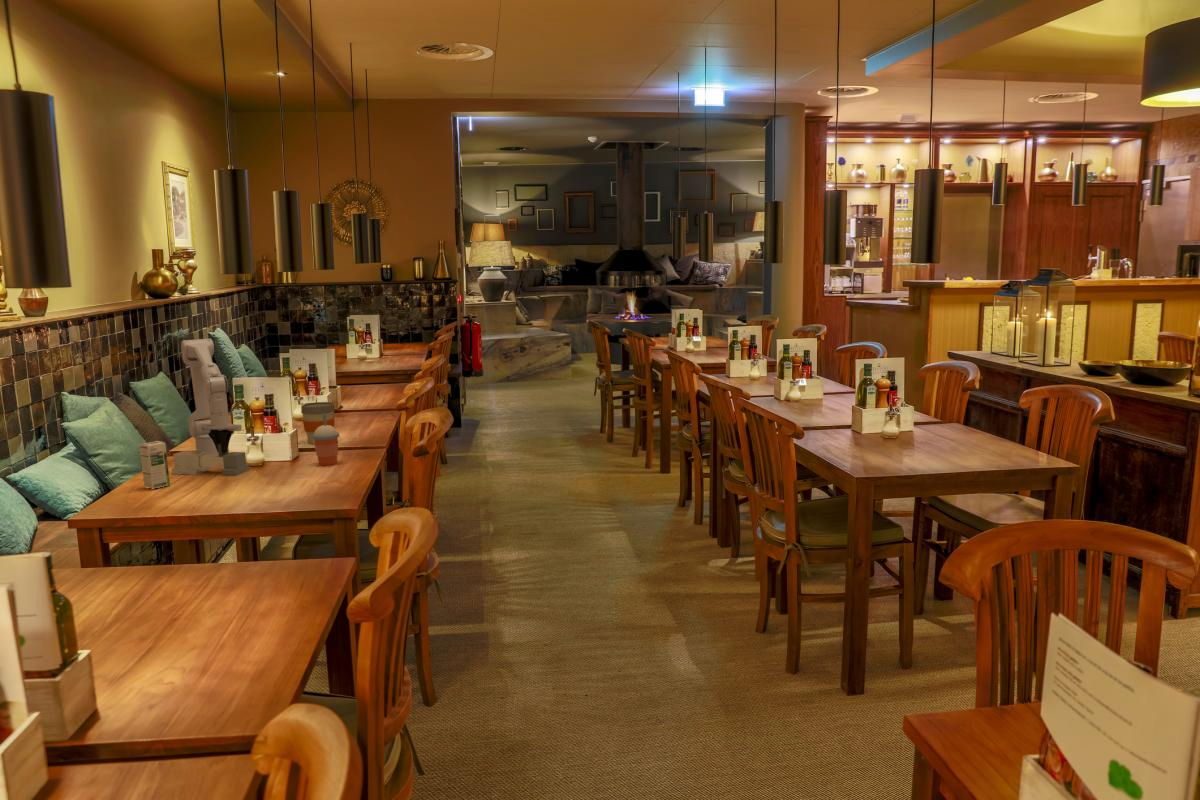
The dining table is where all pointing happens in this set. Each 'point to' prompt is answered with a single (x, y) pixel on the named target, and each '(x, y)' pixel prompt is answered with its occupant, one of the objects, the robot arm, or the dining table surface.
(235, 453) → the slate stepped block
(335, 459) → the cup with straw
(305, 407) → the reusable coffee cup
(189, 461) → the beige stepped block
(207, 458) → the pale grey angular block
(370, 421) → the dining table surface
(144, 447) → the syrup box
